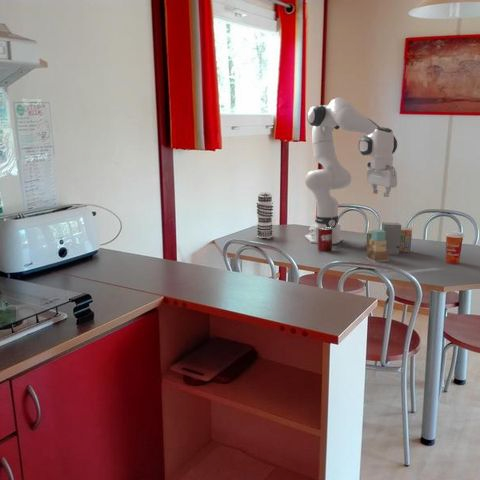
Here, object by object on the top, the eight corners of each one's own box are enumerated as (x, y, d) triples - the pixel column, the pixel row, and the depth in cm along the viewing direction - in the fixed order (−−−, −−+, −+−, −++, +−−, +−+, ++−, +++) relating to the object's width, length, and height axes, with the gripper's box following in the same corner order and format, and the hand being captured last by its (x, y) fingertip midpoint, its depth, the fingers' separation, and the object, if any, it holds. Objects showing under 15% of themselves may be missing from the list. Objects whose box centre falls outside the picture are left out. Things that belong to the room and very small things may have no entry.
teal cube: (371, 239, 248) (371, 229, 247) (379, 238, 250) (380, 229, 248) (376, 241, 244) (376, 231, 243) (385, 240, 245) (385, 231, 244)
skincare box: (382, 256, 257) (383, 224, 253) (379, 252, 263) (381, 221, 260) (399, 256, 256) (402, 224, 252) (396, 253, 263) (398, 221, 259)
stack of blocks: (365, 251, 267) (366, 227, 264) (367, 248, 273) (368, 224, 270) (410, 254, 261) (412, 229, 258) (410, 251, 266) (412, 227, 263)
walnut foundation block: (366, 257, 251) (367, 249, 250) (380, 256, 253) (380, 248, 252) (374, 261, 245) (375, 252, 244) (388, 260, 247) (388, 251, 246)
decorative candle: (256, 235, 304) (256, 191, 298) (272, 235, 304) (273, 191, 298) (256, 238, 295) (256, 194, 290) (273, 238, 295) (273, 194, 289)
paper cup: (440, 262, 246) (442, 232, 242) (447, 259, 251) (450, 230, 248) (457, 265, 240) (459, 235, 237) (464, 262, 246) (467, 232, 242)
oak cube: (369, 249, 250) (369, 239, 249) (379, 248, 251) (380, 238, 250) (375, 252, 245) (375, 241, 243) (385, 251, 246) (386, 240, 245)
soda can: (314, 250, 269) (315, 227, 267) (327, 249, 272) (328, 226, 269) (321, 253, 263) (322, 230, 260) (334, 252, 265) (335, 228, 262)
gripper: (401, 166, 230) (399, 198, 233) (376, 162, 249) (375, 191, 252) (388, 166, 228) (386, 198, 231) (364, 162, 247) (363, 192, 250)
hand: (380, 195), depth 242 cm, fingers open, 8 cm apart
